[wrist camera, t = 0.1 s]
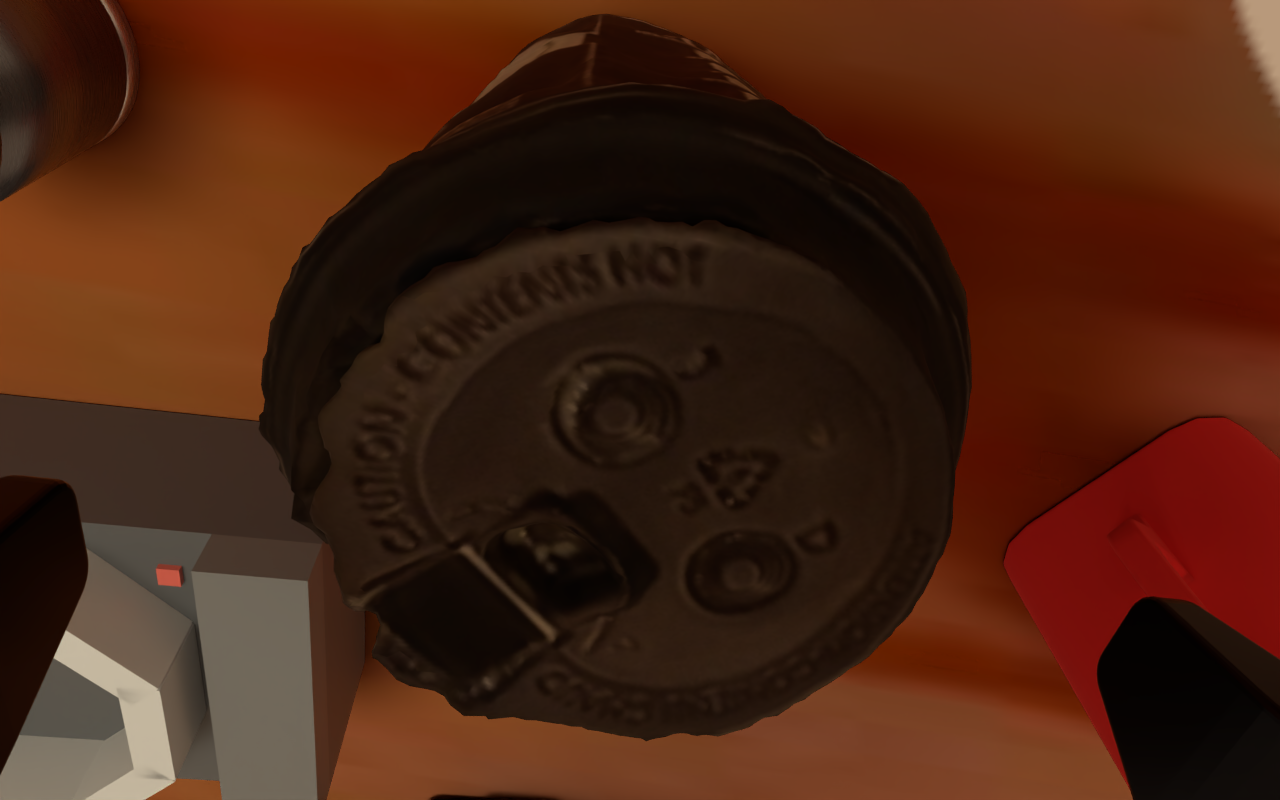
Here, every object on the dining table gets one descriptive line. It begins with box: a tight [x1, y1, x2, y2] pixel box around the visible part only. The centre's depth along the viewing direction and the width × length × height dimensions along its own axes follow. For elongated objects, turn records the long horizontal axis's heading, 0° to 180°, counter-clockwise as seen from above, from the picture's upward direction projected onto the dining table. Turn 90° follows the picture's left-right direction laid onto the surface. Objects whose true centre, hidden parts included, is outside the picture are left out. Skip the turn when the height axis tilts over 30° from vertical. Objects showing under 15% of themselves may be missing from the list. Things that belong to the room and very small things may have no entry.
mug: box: [1003, 417, 1280, 789], centre depth 22 cm, size 12×8×11 cm
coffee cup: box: [258, 14, 972, 741], centre depth 15 cm, size 9×8×13 cm
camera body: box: [0, 394, 365, 800], centre depth 23 cm, size 9×12×6 cm
